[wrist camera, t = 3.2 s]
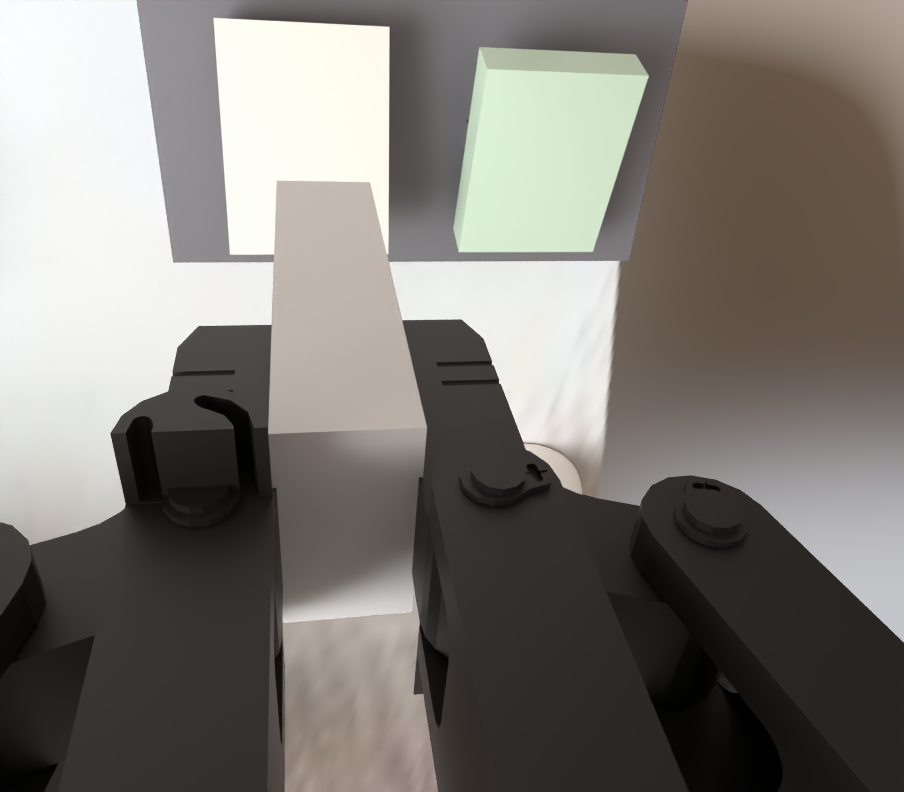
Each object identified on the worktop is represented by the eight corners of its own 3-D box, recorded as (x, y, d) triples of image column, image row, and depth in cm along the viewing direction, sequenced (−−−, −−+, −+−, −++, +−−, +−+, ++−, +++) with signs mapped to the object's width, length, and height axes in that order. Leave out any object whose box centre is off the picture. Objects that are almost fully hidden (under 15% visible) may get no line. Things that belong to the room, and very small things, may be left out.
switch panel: (184, 219, 32) (170, 273, 28) (148, -65, 26) (124, -46, 22) (597, 221, 36) (636, 270, 32) (647, -30, 30) (701, -9, 26)
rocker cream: (233, 246, 27) (230, 254, 26) (217, 21, 24) (213, 18, 23) (384, 246, 28) (388, 254, 26) (384, 29, 25) (389, 27, 24)
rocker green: (453, 228, 30) (458, 252, 29) (479, 46, 24) (487, 68, 24) (583, 229, 31) (592, 251, 30) (635, 54, 25) (648, 75, 24)
